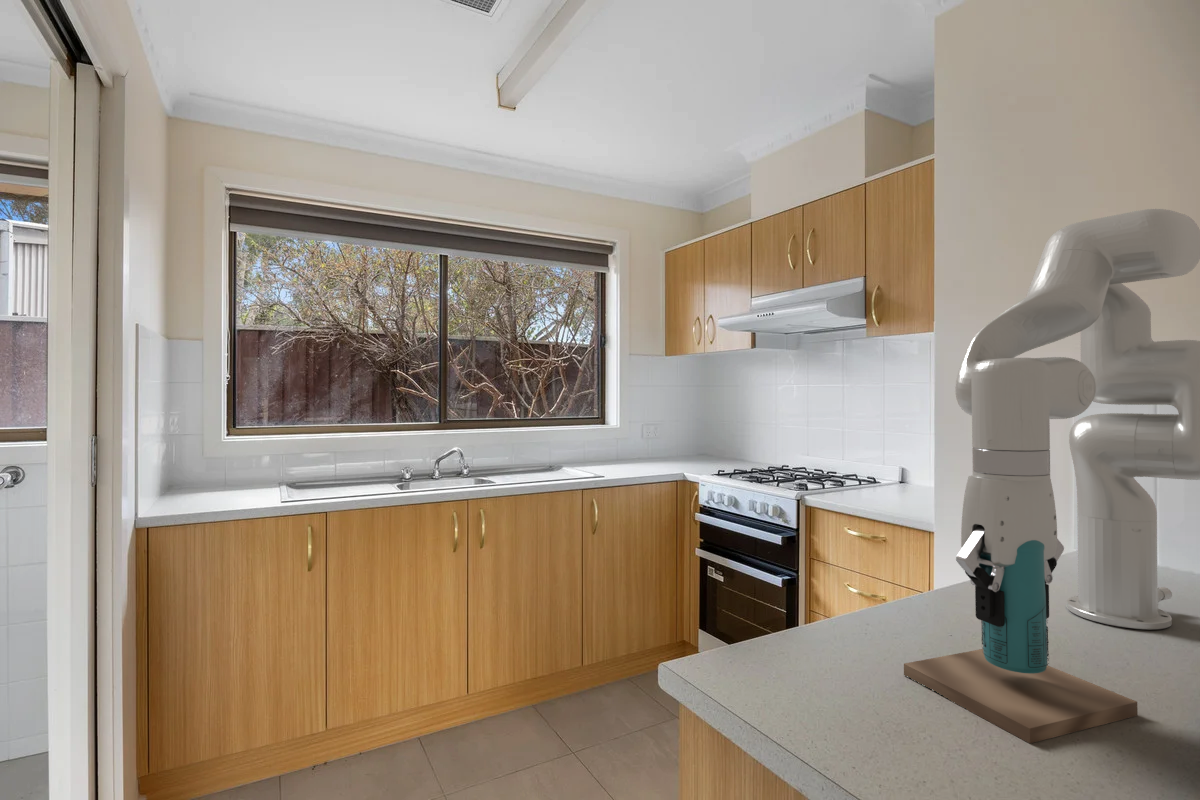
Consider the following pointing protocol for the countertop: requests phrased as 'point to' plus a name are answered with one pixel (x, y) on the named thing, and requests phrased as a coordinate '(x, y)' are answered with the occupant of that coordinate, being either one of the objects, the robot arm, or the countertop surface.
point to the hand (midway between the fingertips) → (1012, 617)
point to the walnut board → (1021, 696)
